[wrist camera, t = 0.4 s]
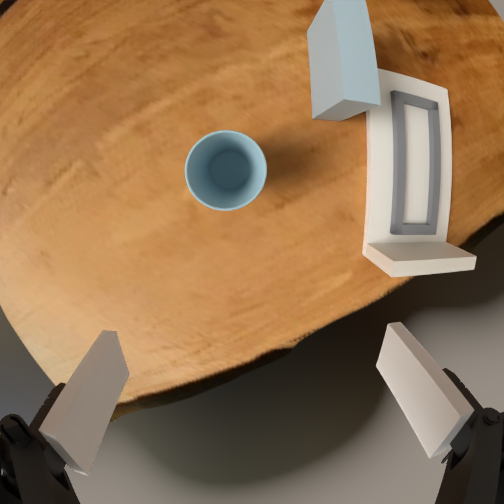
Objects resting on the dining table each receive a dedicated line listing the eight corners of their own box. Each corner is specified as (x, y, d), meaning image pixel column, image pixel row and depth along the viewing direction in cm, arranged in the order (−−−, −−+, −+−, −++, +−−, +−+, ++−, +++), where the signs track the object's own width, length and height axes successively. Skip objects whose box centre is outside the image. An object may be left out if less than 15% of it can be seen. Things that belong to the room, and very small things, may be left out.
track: (362, 67, 31) (391, 47, 22) (443, 90, 31) (478, 81, 23) (362, 254, 39) (391, 277, 30) (440, 251, 40) (473, 269, 31)
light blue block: (306, 32, 29) (330, -10, 18) (333, 36, 29) (364, -3, 18) (312, 119, 33) (343, 99, 22) (340, 121, 33) (380, 105, 22)
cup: (258, 139, 34) (265, 128, 24) (261, 197, 36) (268, 208, 26) (199, 143, 34) (183, 134, 24) (203, 200, 36) (188, 213, 26)
